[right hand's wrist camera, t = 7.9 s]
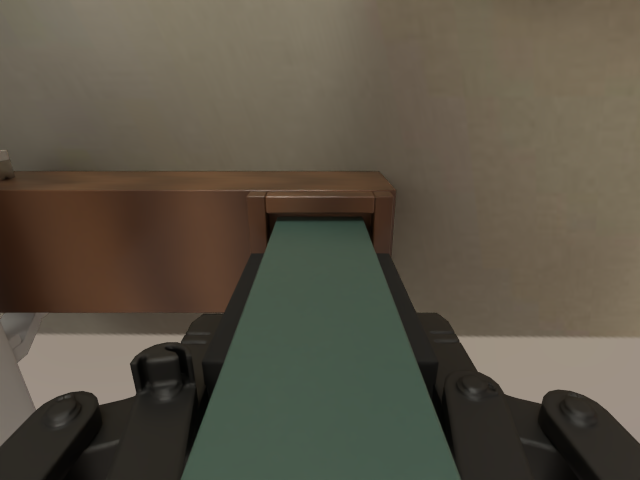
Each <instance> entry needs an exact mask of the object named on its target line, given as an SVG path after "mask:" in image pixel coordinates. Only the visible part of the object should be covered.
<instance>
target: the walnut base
mask: <svg viewBox="0 0 640 480" xmlns="http://www.w3.org/2000/svg"><path fill="white" fill-rule="evenodd" d="M14 174H15V178H11V179H4V180H3V181H0V313H224V312H225V310H226V307H227V305H228V303H229V301H230V299H231V296H232V294H233V292H234V290H235V288H236V286H237V283H238V281H239V279H240V277H241V275H242V272H243V270H244V268H245V266H246V264H247V262H248V259H249V257H250V255H251V253H265V250H266V247H267V244H268V242H269V239H270V236H271V234H272V231H273V228H274V226H275V223H276V220H277V217H362V218H363V220H364V223H365V226H366V228H367V231H368V234H369V236H370V239H371V242H372V244H373V247H374V250H375V252H376V253H389V255H390V257H391V254H392V240H393V227H394V213H395V200H396V190H395V189H394V187H393V186H392V185H391V184H390V183H389V182H388V181H387V180H386V178H385V177H384V176H383V175H382V174H381V173H380V172H379V171H14Z"/></svg>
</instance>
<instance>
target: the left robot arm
mask: <svg viewBox="0 0 640 480" xmlns="http://www.w3.org/2000/svg"><path fill="white" fill-rule="evenodd" d="M11 178H15V174H14V171H13V168H12V164H11V161H10V158H9V155H8V152H7V150H0V181H3V180H4V179H11ZM47 314H48V313H4V315H3V316H2V318H1V319H0V446H1V445H2V444H3V443H4V442H5V441H6V440H7V439H8V438H9V437H10V436H11V435H12V434H13V433H14V432H15V431H16V430H17V429H18V428H19V427H20V426H21V425H22V424H23V423H24V422H25V421H26V420H27V419H28V418H29V416H30V415H31V414H32V413H33V412H35V411H36V409H35V406H34V404H33V401H32V399H31V396H30V394H29V391H28V389H27V387H26V384H25V382H24V379H23V377H22V374H21V372H20V369H19V366H18V364H17V363H18V362H19V361H20V360H21V359H22V358H23V357H25V356H26V355H27V354H28V351H29V349H30V347H31V344H32V342H33V340H34V337H35V335H36V333H37V330H38V328H39V326H40V323H41V319H42V318H43V317H44V316H46V315H47Z"/></svg>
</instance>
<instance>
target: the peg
mask: <svg viewBox="0 0 640 480" xmlns="http://www.w3.org/2000/svg"><path fill="white" fill-rule="evenodd" d="M181 480H461V478H460V475H459V472H458V470H457V467H456V464H455V462H454V459H453V456H452V454H451V451H450V448H449V446H448V443H447V441H446V438H445V435H444V433H443V430H442V427H441V425H440V422H439V419H438V417H437V414H436V411H435V409H434V406H433V403H432V401H431V398H430V395H429V393H428V390H427V387H426V385H425V382H424V380H423V377H422V374H421V372H420V369H419V366H418V364H417V361H416V358H415V356H414V353H413V350H412V348H411V345H410V342H409V340H408V337H407V334H406V332H405V329H404V326H403V324H402V321H401V319H400V316H399V313H398V311H397V308H396V305H395V303H394V300H393V297H392V295H391V292H390V289H389V287H388V284H387V281H386V279H385V276H384V273H383V271H382V268H381V266H380V263H379V260H378V258H377V255H376V252H375V250H374V247H373V244H372V242H371V239H370V236H369V234H368V231H367V228H366V226H365V223H364V220H363V218H362V217H277V220H276V223H275V226H274V228H273V231H272V234H271V236H270V239H269V242H268V244H267V247H266V250H265V253H264V255H263V258H262V261H261V263H260V266H259V269H258V271H257V274H256V277H255V280H254V282H253V285H252V288H251V290H250V293H249V296H248V299H247V301H246V304H245V307H244V309H243V312H242V315H241V317H240V320H239V323H238V326H237V328H236V331H235V334H234V336H233V339H232V342H231V344H230V347H229V350H228V353H227V355H226V358H225V361H224V363H223V366H222V369H221V371H220V374H219V377H218V380H217V382H216V385H215V388H214V390H213V393H212V396H211V399H210V401H209V404H208V407H207V409H206V412H205V415H204V417H203V420H202V423H201V426H200V428H199V431H198V434H197V436H196V439H195V442H194V444H193V447H192V450H191V453H190V455H189V458H188V461H187V463H186V466H185V469H184V471H183V474H182V477H181Z"/></svg>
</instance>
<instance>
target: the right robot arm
mask: <svg viewBox="0 0 640 480" xmlns="http://www.w3.org/2000/svg"><path fill="white" fill-rule="evenodd" d="M263 255H264V253H251V255H250V257H249V259H248V262H247V264H246V266H245V268H244V270H243V272H242V275H241V277H240V279H239V281H238V283H237V286H236V288H235V290H234V292H233V294H232V296H231V299H230V301H229V303H228V305H227V307H226V310H225V312H224V314H203V315H201V316H200V317H199V318H198V319H196V320H195V321H194V322H192V324H191V325H190V327H189V329H188V331H187V332H186V335H185V336H184V337H183V339H182V341H181V343H178V342H167V343H162V344H157V345H154V346H152V347H149V348H147V349H145V350H143V351H142V352H141V353H139V354H138V355H136V356H135V358H134V359H133V360H132V362H131V363H130V366H131V370H132V375H133V379H134V384H135V389H136V396H134V397H131V398H127V399H124V400H120V401H116V402H111V403H107V404H103V405H99V403H98V400H97V397H96V396H94V395H93V394H92V393H89V392H84V391H79V392H70V393H67V394H64V395H61V396H58V397H56V398H54V399H52V400H50V401H48V402H47V403H45V404H43V405H42V406H41V407H40V408H38V409H37V410H36V411H35V412H33V413H32V414H31V415H30V416H29V418H28V419H27V420H26V421H25V422H24V423H23V424H22V425H21V426H20V427H19V428H18V429H17V430H16V431H15V432H14V433H13V434H12V435H11V436H10V437H9V438H8V439H7V440H6V441H5V442H4V443H3V444H2V445H1V446H0V480H181V477H182V474H183V471H184V469H185V466H186V463H187V461H188V458H189V455H190V453H191V450H192V447H193V444H194V442H195V439H196V436H197V434H198V431H199V428H200V426H201V423H202V420H203V417H204V415H205V412H206V409H207V407H208V404H209V401H210V399H211V396H212V393H213V390H214V388H215V385H216V382H217V380H218V377H219V374H220V371H221V369H222V366H223V363H224V361H225V358H226V355H227V353H228V350H229V347H230V344H231V342H232V339H233V336H234V334H235V331H236V328H237V326H238V323H239V320H240V317H241V315H242V312H243V309H244V307H245V304H246V301H247V299H248V296H249V293H250V290H251V288H252V285H253V282H254V280H255V277H256V274H257V271H258V269H259V266H260V263H261V261H262V258H263ZM376 255H377V258H378V260H379V263H380V266H381V268H382V271H383V273H384V276H385V279H386V281H387V284H388V287H389V289H390V292H391V295H392V297H393V300H394V303H395V305H396V308H397V311H398V313H399V316H400V319H401V321H402V324H403V326H404V329H405V332H406V334H407V337H408V340H409V342H410V345H411V348H412V350H413V353H414V356H415V358H416V361H417V364H418V366H419V369H420V372H421V374H422V377H423V380H424V382H425V385H426V387H427V390H428V393H429V395H430V398H431V401H432V403H433V406H434V409H435V411H436V414H437V417H438V419H439V422H440V425H441V427H442V430H443V433H444V435H445V438H446V441H447V443H448V446H449V448H450V451H451V454H452V456H453V459H454V462H455V464H456V467H457V470H458V472H459V475H460V478H461V480H640V444H639V443H638V442H637V441H636V440H635V439H634V438H633V437H632V435H631V434H630V433H629V432H628V431H627V430H626V429H625V428H624V427H623V426H622V425H621V424H620V423H619V422H618V421H617V420H616V419H615V418H614V417H613V416H612V415H611V414H610V413H609V412H608V411H607V410H606V409H604V408H603V407H602V406H601V405H599V404H598V403H597V402H595V401H593V400H591V399H590V398H588V397H586V396H584V395H581V394H578V393H575V392H572V391H566V390H554V391H549V392H548V393H547V394H546V395H545V396H544V397H543V401H542V404H539V403H535V402H531V401H527V400H522V399H518V398H514V397H511V396H508V395H506V394H504V393H503V391H502V389H501V388H500V386H499V385H498V384H497V383H496V382H495V381H494V380H492V379H491V378H490V377H488V376H486V375H484V374H482V373H480V372H478V371H477V370H476V368H475V366H474V365H473V363H472V361H471V359H470V358H469V356H468V354H467V353H466V351H465V349H464V348H463V346H462V344H461V343H460V342H459V339H458V337H457V336H456V334H454V330H453V329H452V327H451V325H450V324H449V322H448V321H447V320H446V319H444V318H443V317H442V316H440V315H439V314H438V313H416V311H415V309H414V307H413V305H412V303H411V300H410V298H409V296H408V294H407V292H406V289H405V287H404V285H403V283H402V281H401V279H400V276H399V274H398V272H397V270H396V268H395V265H394V263H393V261H392V259H391V257H390V255H389V253H376Z"/></svg>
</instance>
